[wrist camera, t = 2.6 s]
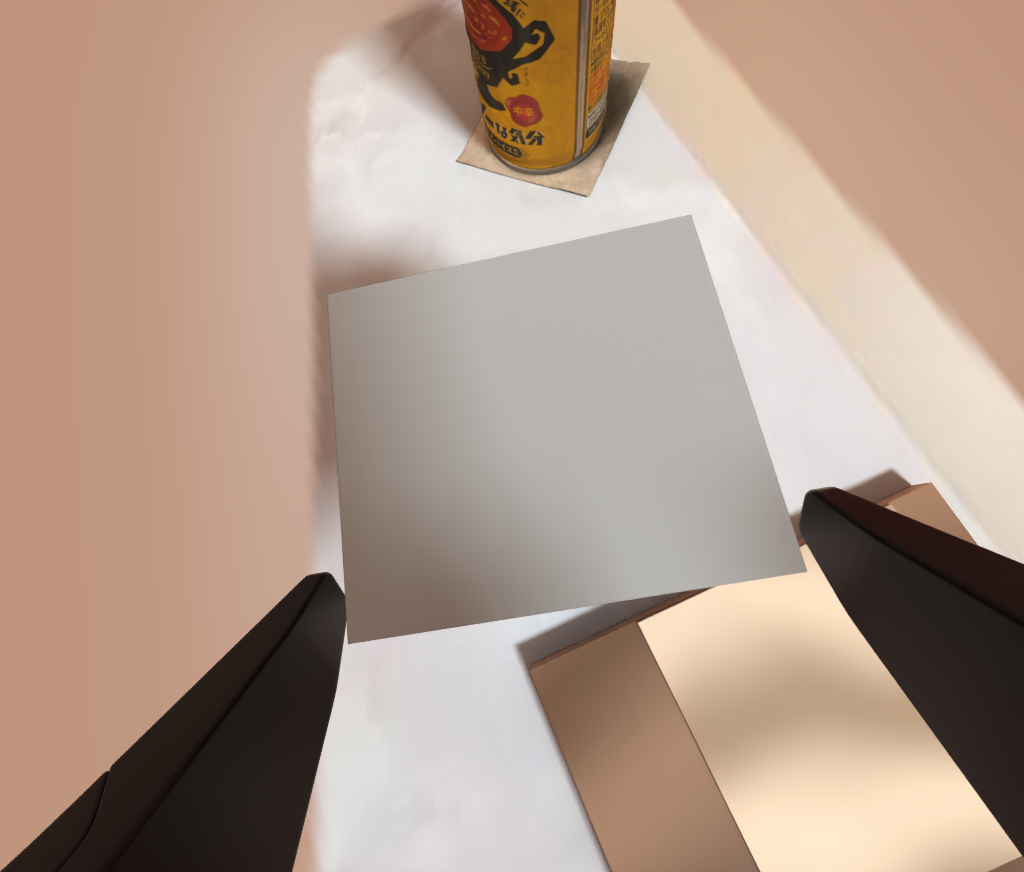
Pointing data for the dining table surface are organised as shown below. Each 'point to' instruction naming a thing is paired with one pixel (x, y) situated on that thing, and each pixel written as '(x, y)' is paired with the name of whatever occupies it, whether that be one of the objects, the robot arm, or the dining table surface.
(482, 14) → the condiment
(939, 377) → the dining table surface
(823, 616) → the brown square board
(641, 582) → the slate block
